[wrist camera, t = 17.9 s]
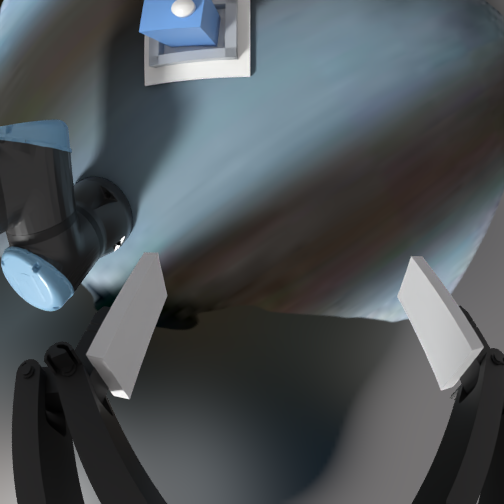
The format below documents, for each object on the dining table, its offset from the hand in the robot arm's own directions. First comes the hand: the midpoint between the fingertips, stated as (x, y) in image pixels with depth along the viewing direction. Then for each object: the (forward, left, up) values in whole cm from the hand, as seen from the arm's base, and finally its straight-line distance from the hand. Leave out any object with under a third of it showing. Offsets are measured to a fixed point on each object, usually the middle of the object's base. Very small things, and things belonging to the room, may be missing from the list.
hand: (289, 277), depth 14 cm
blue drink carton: (-11, +20, -31) cm, 38 cm away
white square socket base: (-11, +20, -32) cm, 39 cm away
